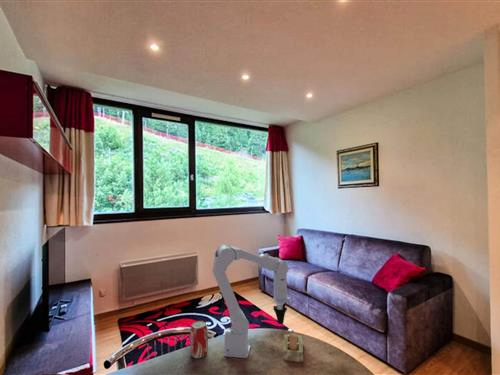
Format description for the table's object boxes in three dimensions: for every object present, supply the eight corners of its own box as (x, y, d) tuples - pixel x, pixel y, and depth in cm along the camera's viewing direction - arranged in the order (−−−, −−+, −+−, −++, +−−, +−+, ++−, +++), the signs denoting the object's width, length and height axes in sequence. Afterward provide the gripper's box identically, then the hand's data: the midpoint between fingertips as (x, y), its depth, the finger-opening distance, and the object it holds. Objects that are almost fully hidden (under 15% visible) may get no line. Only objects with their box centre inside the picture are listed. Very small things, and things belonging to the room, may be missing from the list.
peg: (289, 357, 98) (289, 337, 99) (289, 353, 101) (289, 333, 102) (297, 358, 98) (297, 337, 98) (296, 353, 101) (296, 333, 101)
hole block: (283, 360, 97) (283, 351, 97) (284, 342, 109) (284, 334, 109) (303, 362, 96) (303, 352, 96) (302, 344, 107) (301, 335, 108)
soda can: (204, 361, 97) (203, 329, 98) (187, 359, 99) (187, 328, 99) (210, 350, 104) (210, 320, 105) (194, 348, 106) (194, 319, 106)
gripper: (289, 294, 101) (290, 328, 101) (289, 282, 116) (290, 312, 115) (272, 293, 102) (272, 327, 102) (274, 281, 117) (275, 311, 116)
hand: (281, 319), depth 108 cm, fingers open, 7 cm apart
